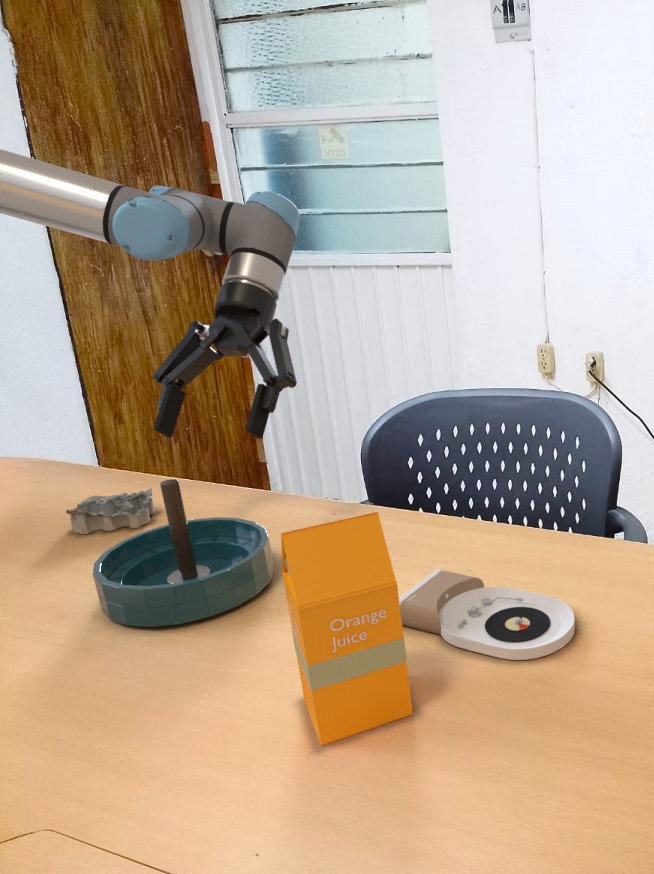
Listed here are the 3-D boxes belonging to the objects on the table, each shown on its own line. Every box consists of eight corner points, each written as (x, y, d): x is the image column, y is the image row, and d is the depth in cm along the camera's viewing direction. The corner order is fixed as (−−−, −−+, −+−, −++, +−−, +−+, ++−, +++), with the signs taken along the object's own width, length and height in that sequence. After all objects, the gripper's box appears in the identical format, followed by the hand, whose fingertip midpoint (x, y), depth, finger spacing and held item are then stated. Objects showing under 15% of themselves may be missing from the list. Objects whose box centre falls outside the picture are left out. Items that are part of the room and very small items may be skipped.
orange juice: (413, 714, 80) (391, 526, 73) (320, 746, 76) (287, 550, 69) (390, 673, 86) (367, 497, 80) (303, 701, 82) (271, 518, 76)
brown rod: (168, 581, 106) (145, 479, 101) (211, 572, 108) (190, 471, 103) (169, 598, 101) (146, 493, 97) (214, 588, 104) (193, 484, 99)
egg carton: (67, 537, 120) (60, 511, 119) (85, 516, 127) (79, 492, 126) (147, 528, 123) (141, 502, 121) (160, 508, 130) (154, 484, 128)
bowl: (105, 575, 109) (96, 538, 107) (264, 542, 117) (257, 506, 115) (100, 648, 92) (89, 605, 90) (284, 603, 101) (277, 562, 99)
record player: (444, 562, 103) (591, 593, 95) (446, 584, 104) (591, 617, 96) (386, 607, 93) (544, 646, 85) (388, 631, 94) (545, 671, 86)
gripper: (343, 306, 116) (308, 446, 108) (189, 310, 121) (145, 443, 113) (316, 275, 109) (277, 422, 101) (154, 281, 115) (105, 420, 107)
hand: (207, 434), depth 107 cm, fingers open, 13 cm apart
